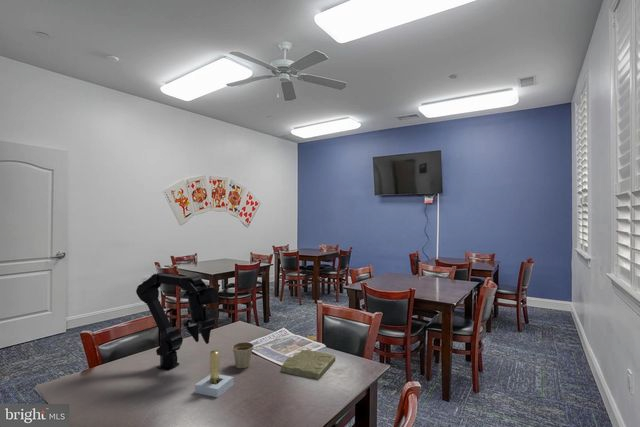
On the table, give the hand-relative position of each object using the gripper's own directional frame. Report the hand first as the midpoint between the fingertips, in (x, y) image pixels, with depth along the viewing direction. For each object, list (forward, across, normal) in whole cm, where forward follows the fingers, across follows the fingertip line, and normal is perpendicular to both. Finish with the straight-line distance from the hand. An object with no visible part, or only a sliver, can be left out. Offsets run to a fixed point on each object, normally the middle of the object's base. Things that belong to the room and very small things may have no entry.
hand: (202, 342), depth 144 cm
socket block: (+15, -14, +4) cm, 21 cm away
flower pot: (+15, -4, -14) cm, 21 cm away
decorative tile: (+21, -24, -35) cm, 47 cm away
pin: (+15, -14, +4) cm, 21 cm away
